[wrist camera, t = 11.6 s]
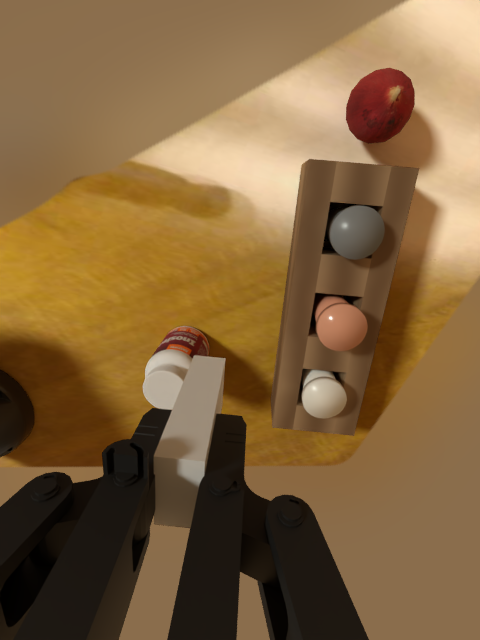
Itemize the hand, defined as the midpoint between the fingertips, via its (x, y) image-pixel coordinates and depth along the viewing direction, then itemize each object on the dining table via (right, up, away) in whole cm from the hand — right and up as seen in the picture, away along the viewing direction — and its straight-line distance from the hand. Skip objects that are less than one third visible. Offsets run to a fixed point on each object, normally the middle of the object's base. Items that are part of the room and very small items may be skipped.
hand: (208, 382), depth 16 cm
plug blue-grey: (+13, +14, +22) cm, 29 cm away
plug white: (+11, -3, +28) cm, 31 cm away
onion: (+15, +24, +19) cm, 34 cm away
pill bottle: (-6, 0, +29) cm, 29 cm away
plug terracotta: (+12, +5, +24) cm, 27 cm away
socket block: (+12, +5, +25) cm, 29 cm away
